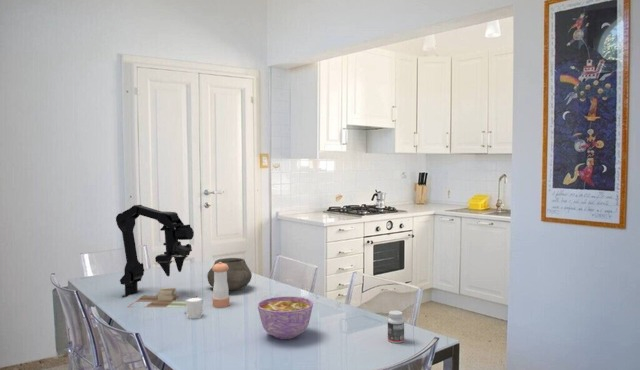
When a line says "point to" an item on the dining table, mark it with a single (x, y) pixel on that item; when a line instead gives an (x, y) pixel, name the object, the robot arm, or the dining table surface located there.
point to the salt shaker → (220, 286)
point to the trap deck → (161, 302)
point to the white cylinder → (194, 307)
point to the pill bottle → (395, 327)
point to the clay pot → (233, 273)
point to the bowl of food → (285, 315)
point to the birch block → (167, 294)
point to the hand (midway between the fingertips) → (174, 274)
